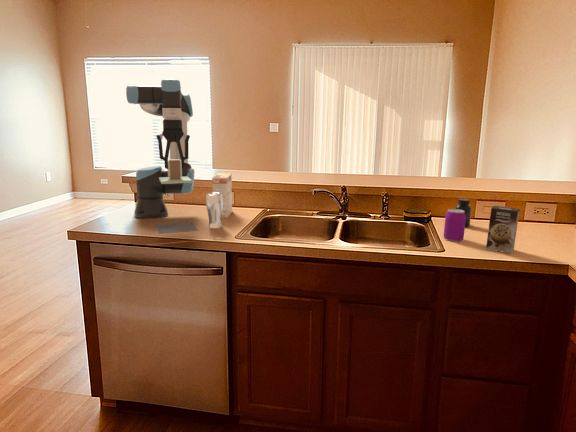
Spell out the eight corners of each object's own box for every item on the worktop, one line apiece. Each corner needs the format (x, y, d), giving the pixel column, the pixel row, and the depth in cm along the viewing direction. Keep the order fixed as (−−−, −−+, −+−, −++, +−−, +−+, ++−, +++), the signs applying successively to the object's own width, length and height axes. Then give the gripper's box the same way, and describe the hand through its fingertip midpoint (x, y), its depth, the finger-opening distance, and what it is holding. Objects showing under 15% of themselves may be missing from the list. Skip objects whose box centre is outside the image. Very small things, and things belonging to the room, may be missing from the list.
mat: (155, 225, 193) (155, 224, 193) (191, 222, 199) (191, 221, 199) (159, 234, 179) (158, 233, 179) (198, 231, 184) (198, 230, 184)
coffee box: (485, 249, 165) (490, 207, 161) (488, 245, 170) (493, 204, 166) (512, 254, 160) (518, 211, 156) (514, 249, 165) (520, 208, 161)
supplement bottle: (470, 224, 202) (473, 199, 199) (469, 227, 196) (472, 201, 193) (454, 222, 205) (456, 197, 202) (453, 226, 199) (455, 200, 196)
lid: (159, 179, 187) (158, 158, 185) (187, 178, 191) (186, 157, 189) (161, 184, 176) (160, 161, 174) (191, 182, 181) (191, 160, 178)
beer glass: (219, 230, 187) (219, 195, 183) (204, 229, 188) (203, 194, 185) (225, 226, 194) (224, 192, 190) (210, 225, 195) (209, 191, 191)
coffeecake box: (218, 211, 222) (217, 172, 218) (232, 211, 222) (232, 173, 218) (212, 218, 208) (211, 177, 203) (227, 218, 208) (226, 177, 203)
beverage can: (445, 241, 175) (448, 212, 172) (441, 236, 182) (444, 208, 179) (465, 242, 174) (468, 213, 171) (460, 237, 181) (463, 208, 178)
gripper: (151, 119, 172) (154, 178, 177) (195, 119, 178) (197, 176, 183) (149, 118, 179) (153, 175, 184) (192, 119, 185) (194, 174, 190)
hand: (175, 176), depth 183 cm, fingers closed on lid, 4 cm apart
